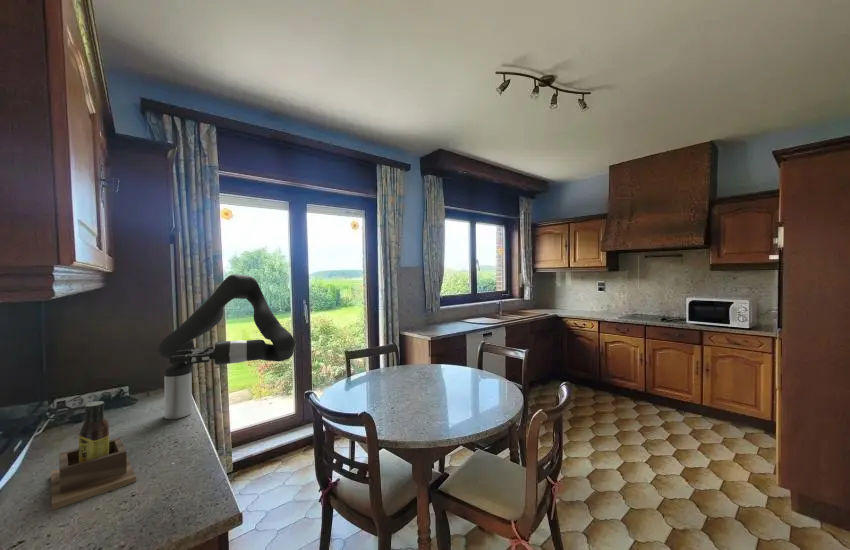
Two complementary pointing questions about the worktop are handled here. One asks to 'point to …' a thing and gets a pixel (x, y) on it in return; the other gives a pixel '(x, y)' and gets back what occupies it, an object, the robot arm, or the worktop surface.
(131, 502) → the worktop surface
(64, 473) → the walnut caddy
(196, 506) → the worktop surface
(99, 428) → the sauce bottle
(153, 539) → the worktop surface
